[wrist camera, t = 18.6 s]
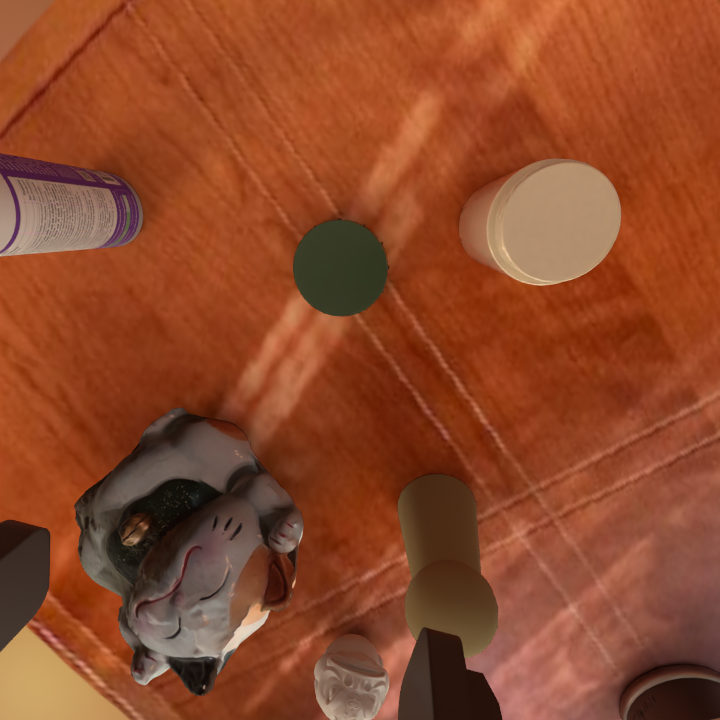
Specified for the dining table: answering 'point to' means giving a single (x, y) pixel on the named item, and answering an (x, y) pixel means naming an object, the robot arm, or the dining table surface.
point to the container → (63, 208)
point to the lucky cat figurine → (190, 546)
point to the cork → (445, 562)
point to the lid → (340, 267)
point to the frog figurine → (350, 679)
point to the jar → (542, 221)
